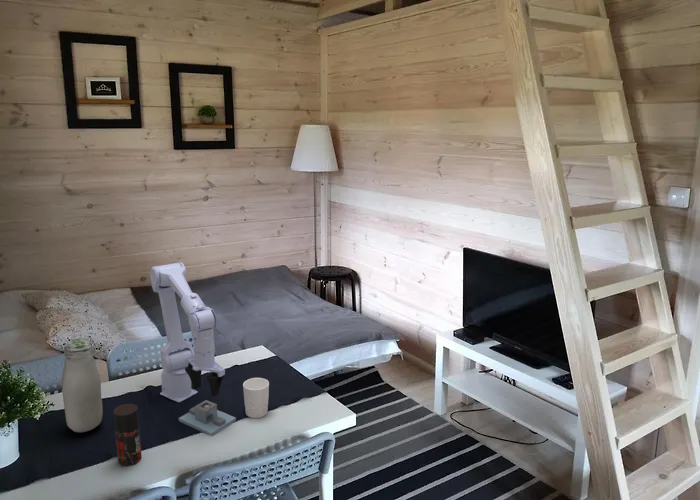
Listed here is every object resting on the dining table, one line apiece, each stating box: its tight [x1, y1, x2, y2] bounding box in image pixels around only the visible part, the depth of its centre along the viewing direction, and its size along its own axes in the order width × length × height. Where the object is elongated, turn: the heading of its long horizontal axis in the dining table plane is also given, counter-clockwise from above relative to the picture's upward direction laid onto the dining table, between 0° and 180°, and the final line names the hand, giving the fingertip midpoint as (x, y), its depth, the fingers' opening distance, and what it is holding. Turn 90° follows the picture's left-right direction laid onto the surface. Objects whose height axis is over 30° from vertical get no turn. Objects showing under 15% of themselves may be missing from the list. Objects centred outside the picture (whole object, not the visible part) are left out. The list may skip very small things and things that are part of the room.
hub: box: [194, 399, 218, 424], centre depth 166 cm, size 5×5×4 cm
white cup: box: [242, 377, 270, 419], centre depth 171 cm, size 8×8×10 cm
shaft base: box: [178, 405, 237, 437], centre depth 167 cm, size 14×10×5 cm
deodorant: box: [112, 403, 143, 467], centre depth 147 cm, size 6×6×15 cm
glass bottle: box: [61, 337, 104, 433], centre depth 159 cm, size 10×10×28 cm
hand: (206, 391), depth 165 cm, fingers open, 7 cm apart
